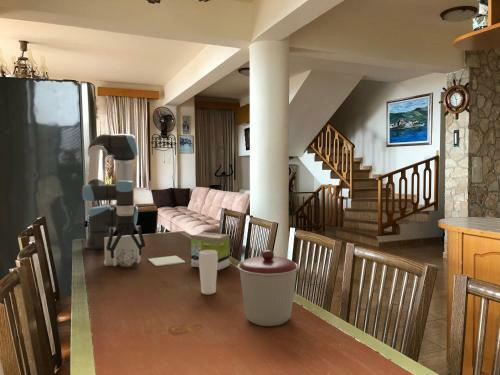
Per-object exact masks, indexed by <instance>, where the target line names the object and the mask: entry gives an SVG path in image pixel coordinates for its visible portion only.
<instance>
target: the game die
mask: <svg viewBox="0 0 500 375" xmlns="http://www.w3.org/2000/svg"><path fill="white" fill-rule="evenodd" d="M116 258H118V261H119V263H120V264H119V266H120V267H119V268H120V269H121V268H122V267H123V268H124V267H126V268H130V269H132V265H133V264H134V262H135V260H137V259H136V258H135V256H134V254H133V250H132V251H123V249H122V253H121V254H120V255H119V256H118V257H116Z"/></svg>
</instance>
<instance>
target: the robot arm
mask: <svg viewBox="0 0 500 375" xmlns="http://www.w3.org/2000/svg"><path fill="white" fill-rule="evenodd" d="M138 153H139V152H138V147H137V141H136V137H135V135H134V134H129V133H103V134H100V135H97V136H96V137H94V139H92V140H91V141H90V143H89V145H88V148H87V155H88V157H89V159H88V160H89V161H88V176H87V184H84V185H82V191H81V192H82V194H81V195H82V199H83V201H86V202H96V201H98V202H99V201H115V203H114V206H113V207H111V205H110V204H106V205H105V204H104V205H98V206H93V207H90V208H89V209H88V216H87V217H88V237H87V240H86V244H85V248H86V249H88V250H105V241H104V237H109V238H108V243H107V247H106V249H107V250H109V251H111V258H113V265H112V266H113V267H117V265H116V251H115V248H116V246H117V244H118V242H119V240H120V238H121V237H122V236H127V235H131V237H132V238H133V240H134V242H135V243H136V245H137V247H138V248H136V259H137V260H136V263H137V264H140V262H139V255H141V256H142V248H145V247H146V244H145V240H144V236H143V232H142V228H143V227H142V226H141V225H137V222H138V217H139V216H138V215H139V207H138V206H137V205H136V203H135V202H134V201H135V199H134V198H135V196H134V195H135V192H134V190H135V186H134V181H133V162H134V161H135V159H136V156H138V155H139V154H138ZM107 156H112V160H114V161H115V170H116V174H115V175H116V176H115V177H116V178H115V181H116V183H113V184H112V183H109V184H107V183H106V158H107ZM134 230H135V231H137V235H139V238H140V241H141V245H140V244H139V242H138V240H137V239H136V237H135V235H136V234H134ZM115 232H117V235H116V236H117V237H116V239H115V241H114V243H113V245H112V247H111V242H112V238H113V237H114V234H115ZM110 247H111V248H110Z"/></svg>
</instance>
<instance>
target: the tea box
mask: <svg viewBox="0 0 500 375" xmlns="http://www.w3.org/2000/svg"><path fill="white" fill-rule="evenodd" d="M203 250H215V251H217V256H218V264H217V270H219V271H221V270H224V269H225V268H228V267H229V266H230V234H224V233H223V234H222V233H217V232H216V233H215V232H208V231H207V232H205V231H203V232H198V233H195V234H191V235H190V253H191V254H190V258H191V259H190V261H191V262H190V263H191V265H190V266H191V267H194V268H199V252H200V251H203ZM220 269H221V270H220Z"/></svg>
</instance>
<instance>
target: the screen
mask: <svg viewBox="0 0 500 375" xmlns="http://www.w3.org/2000/svg"><path fill="white" fill-rule="evenodd" d="M134 235H135V237H136V239H137V240H138V242H139V244H140V245H141V241H140V238H139V235H138V234H134ZM116 237H117V235H116V236H113V238H112V242H111V247H112V245H113V243H114V241H115V239H116ZM108 238H109V237H104V241H105V249H104V260H103V264H104V266H105V267H109V266H114V265H113V258H111V251H109V250H107V249H106V247H107V243H108ZM111 247H110V248H111ZM136 248H138V247H137V245H136V243H135V242H134V240H133V238H132V237H131V235H125V236H122V237H121V238H120V240H119V242H118V244H117V246H116V248H115V251H116V257H118V256H119V255H120V254H121V253H122V249H123V251H132V250H133V254H134V256H135V258H136ZM141 262H142V254H141V255H139V263H141ZM134 263H135V264H136V263H137V262H136V260H135V262H134ZM134 263H133V264H134ZM117 265H118V266H120V263H119V261H118V258H116V266H117Z"/></svg>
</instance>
